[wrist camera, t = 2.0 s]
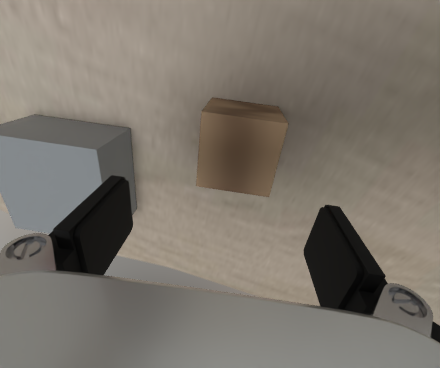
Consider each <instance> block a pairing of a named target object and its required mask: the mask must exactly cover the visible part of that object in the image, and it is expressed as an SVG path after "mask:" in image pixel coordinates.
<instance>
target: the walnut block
mask: <svg viewBox="0 0 440 368" xmlns="http://www.w3.org/2000/svg"><path fill="white" fill-rule="evenodd" d="M287 128H288V122H287V120H286V119H285V117H284V116H283V114H282V112H281V111H280V109H279V107H277V106H270V105H263V104H256V103H248V102H241V101H234V100H227V99H220V98H212V99H211V100H210V101H209V103H208V104H207V105H206V106H205V108H204V109H203V110H202V112H201V125H200V139H199V153H198V167H197V181H196V186H199V187H206V188H212V189H219V190H225V191H232V192H239V193H245V194H252V195H259V196H265V197H269V195H270V192H271V188H272V184H273V180H274V177H275V173H276V169H277V165H278V161H279V158H280V154H281V150H282V146H283V143H284V139H285V135H286V131H287Z"/></svg>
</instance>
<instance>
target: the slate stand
mask: <svg viewBox="0 0 440 368" xmlns="http://www.w3.org/2000/svg"><path fill="white" fill-rule="evenodd" d="M111 175H115V176H122V177H125V179H126V180H128V181H129V187H130V198H131V208H132V215H133V213H134V212H135V210H136V209H137V204H136V192H135V180H134V168H133V156H132V144H131V132H130V128H124V127H117V126H110V125H103V124H96V123H90V122H83V121H76V120H69V119H62V118H55V117H48V116H41V115H31V116H28V117H24V118H21V119H17V120H14V121H10V122H7V123H3V124H0V193H1V195H2V197H3V200H4V202H5V204H6V207H7V209H8V211H9V214H10V216H11V218H12V220H13V223H14V225H15V227H16V228H20V229H26V230H32V231H38V232H44V233H51V232H52V231H53V229H54V228H55V227H56V226H57V225H58V224H59V223H60V222H61V221H62V220H63V219H64V218H65V217H67V216H68V215H69V214H70V213H71V212H72V211H73V210H74V209H75V208H76V207H77V206H78V205H80V204H81V203H82V202H83V201H84V200H85V199H86V198H87V197H88V196H89V195H90V194H92V193H93V192H94V191H95V190H96V189H97V188H98V187H99V186H100V185H101V184H102V183H103V182H105V181H106V180H107V179H108V178H109V177H110V176H111Z"/></svg>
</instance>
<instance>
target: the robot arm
mask: <svg viewBox="0 0 440 368" xmlns="http://www.w3.org/2000/svg"><path fill="white" fill-rule="evenodd" d="M132 227H133V219H132V208H131V198H130V187H129V181H128V180H126V179H125V177H122V176H115V175H111V176H110V177H109V178H108V179H107V180H106V181H105V182H103V183H102V184H101V185H100V186H99V187H98V188H97V189H96V190H95V191H94V192H93V193H92V194H90V195H89V196H88V197H87V198H86V199H85V200H84V201H83V202H82V203H81V204H80V205H78V206H77V207H76V208H75V209H74V210H73V211H72V212H71V213H70V214H69V215H68V216H67V217H65V218H64V219H63V220H62V221H61V222H60V223H59V224H58V225H57V226H56V227H55V228H54V229H53V231H52V232H51V233H50V234H49V235H46V234H41V233H34V234H28V235H24V236H21V237H19V238H17V239H15V240H13V241H11V242H9V243H8V244H7V245H6V246H4V248H3V249H2V250H1V252H0V368H440V326H439V325H438V324H436V323H435V322H433V313H432V310H431V308H430V306H429V305H428V304H427V303H426V302H425V300H424V299H423V298H421V297H420V296H419V295H418V294H417V293H415V292H414V291H412V290H411V289H409V288H407V287H405V286H402V285H399V284H394V283H390V284H388V283H387V282H386V280H385V279H384V278H385V274H384V273H383V271H382V270H381V268H380V267H379V265H378V264H377V262H376V261H375V259H374V258H373V256H372V255H371V253H370V252H369V250H368V249H367V247H366V246H365V244H364V243H363V241H362V240H361V238H360V237H359V235H358V234H357V232H356V231H355V229H354V228H353V226H352V225H351V223H350V222H349V220H348V219H347V217H346V216H345V214H344V213H343V211H342V210H341V208H340V207H338V206H331V205H325V206H324V207H322V208H320V210H319V213H318V215H317V218H316V220H315V223H314V225H313V228H312V230H311V233H310V235H309V238H308V240H307V242H306V245H305V248H304V256H305V260H306V263H307V266H308V269H309V272H310V275H311V278H312V281H313V284H314V287H315V291H316V294H317V297H318V300H319V303H320V306H315V305H309V304H302V303H295V302H289V301H282V300H275V299H269V298H262V297H255V296H248V295H241V294H235V293H228V292H221V291H213V290H207V289H200V288H192V287H186V286H179V285H171V284H164V283H157V282H148V281H142V280H135V279H128V278H120V277H112V276H104V274H105V272H106V270H107V269H108V267H109V266H110V264H111V262H112V261H113V259H114V258H115V256H116V254H117V253H118V251H119V250H120V248H121V246H122V245H123V243H124V242H125V240H126V238H127V237H128V235H129V234H130V232H131V230H132Z"/></svg>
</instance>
